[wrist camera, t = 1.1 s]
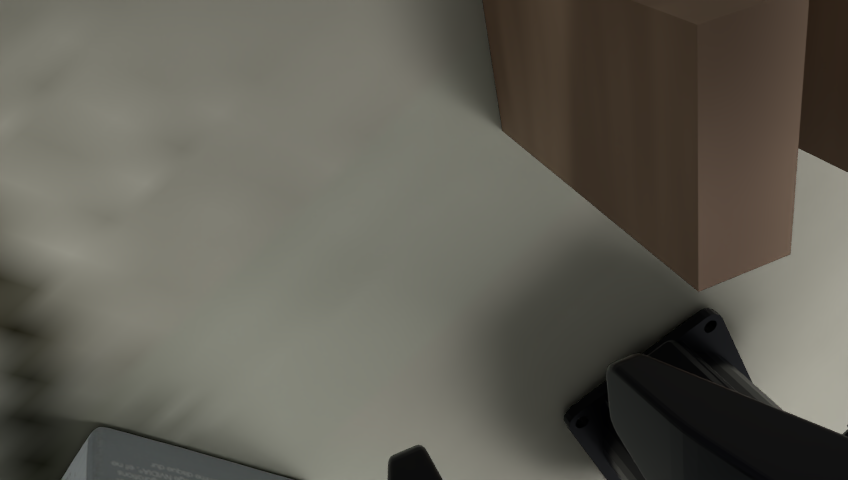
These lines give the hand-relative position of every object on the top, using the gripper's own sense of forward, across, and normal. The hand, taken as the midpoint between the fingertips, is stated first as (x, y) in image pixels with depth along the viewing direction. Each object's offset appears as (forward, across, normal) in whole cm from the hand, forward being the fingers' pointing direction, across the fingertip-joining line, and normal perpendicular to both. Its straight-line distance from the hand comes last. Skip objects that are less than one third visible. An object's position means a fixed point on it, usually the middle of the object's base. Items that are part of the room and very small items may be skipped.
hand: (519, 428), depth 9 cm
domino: (+12, -6, 0) cm, 13 cm away
